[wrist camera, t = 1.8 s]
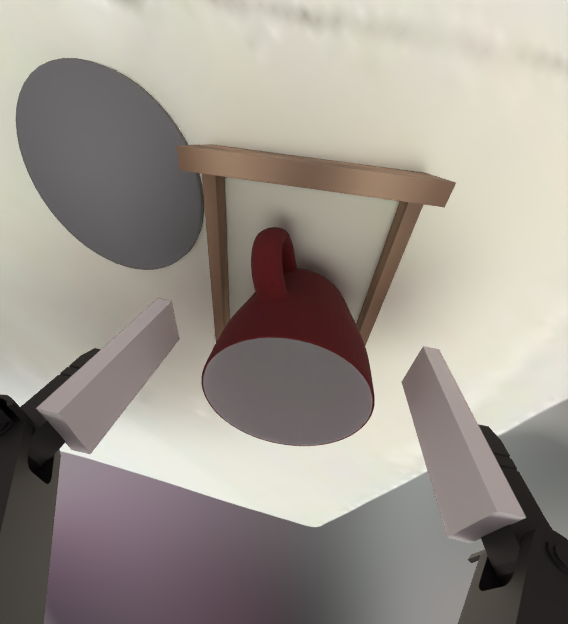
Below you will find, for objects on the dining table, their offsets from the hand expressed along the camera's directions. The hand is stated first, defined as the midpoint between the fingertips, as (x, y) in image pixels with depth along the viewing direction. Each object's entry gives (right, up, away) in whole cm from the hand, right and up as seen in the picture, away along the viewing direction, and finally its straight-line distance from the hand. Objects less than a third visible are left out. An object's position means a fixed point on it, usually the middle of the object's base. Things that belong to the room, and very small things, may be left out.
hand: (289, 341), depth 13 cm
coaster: (-12, +10, +4) cm, 16 cm away
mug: (+1, +4, +6) cm, 7 cm away
